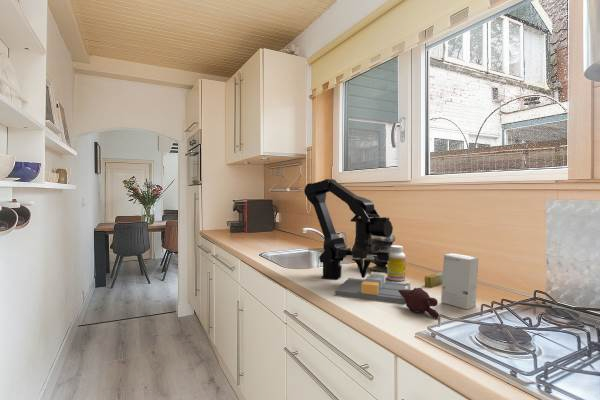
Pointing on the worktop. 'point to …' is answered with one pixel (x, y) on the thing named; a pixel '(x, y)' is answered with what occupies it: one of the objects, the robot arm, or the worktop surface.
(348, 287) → the panel
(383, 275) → the slider white
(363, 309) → the worktop surface
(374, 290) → the slider orange
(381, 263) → the apothecary jar
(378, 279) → the slider blue
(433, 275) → the medication box
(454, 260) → the skincare box
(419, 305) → the beetroot
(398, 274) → the supplement bottle
